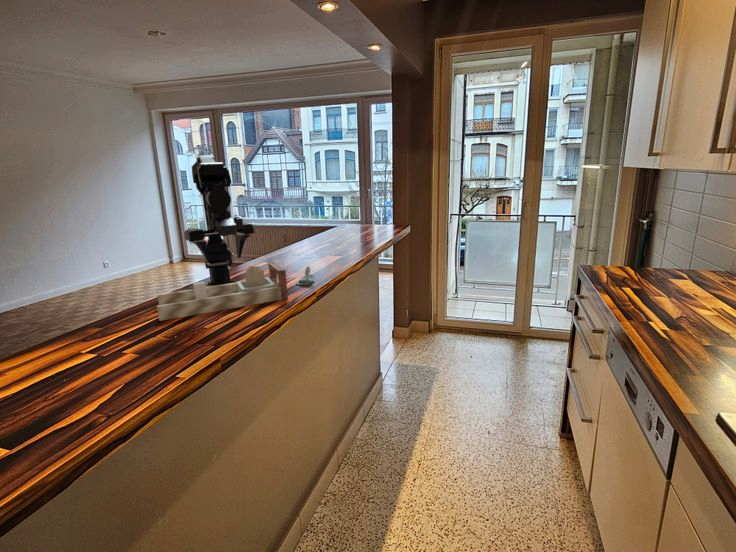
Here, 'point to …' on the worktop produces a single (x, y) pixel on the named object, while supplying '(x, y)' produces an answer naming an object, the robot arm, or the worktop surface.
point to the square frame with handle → (241, 287)
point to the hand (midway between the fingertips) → (224, 260)
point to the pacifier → (306, 277)
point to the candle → (254, 276)
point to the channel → (220, 297)
